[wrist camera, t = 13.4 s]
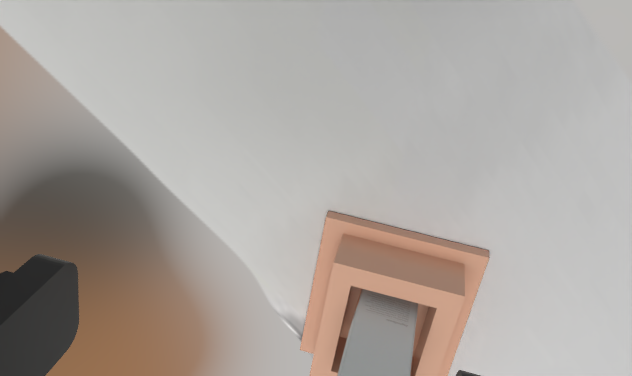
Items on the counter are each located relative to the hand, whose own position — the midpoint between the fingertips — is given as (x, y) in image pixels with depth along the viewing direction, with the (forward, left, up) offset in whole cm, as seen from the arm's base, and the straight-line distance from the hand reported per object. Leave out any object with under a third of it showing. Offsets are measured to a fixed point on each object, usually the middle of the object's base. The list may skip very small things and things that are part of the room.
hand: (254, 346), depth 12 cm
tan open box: (+4, -20, -30) cm, 36 cm away
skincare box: (+4, -20, -29) cm, 36 cm away
